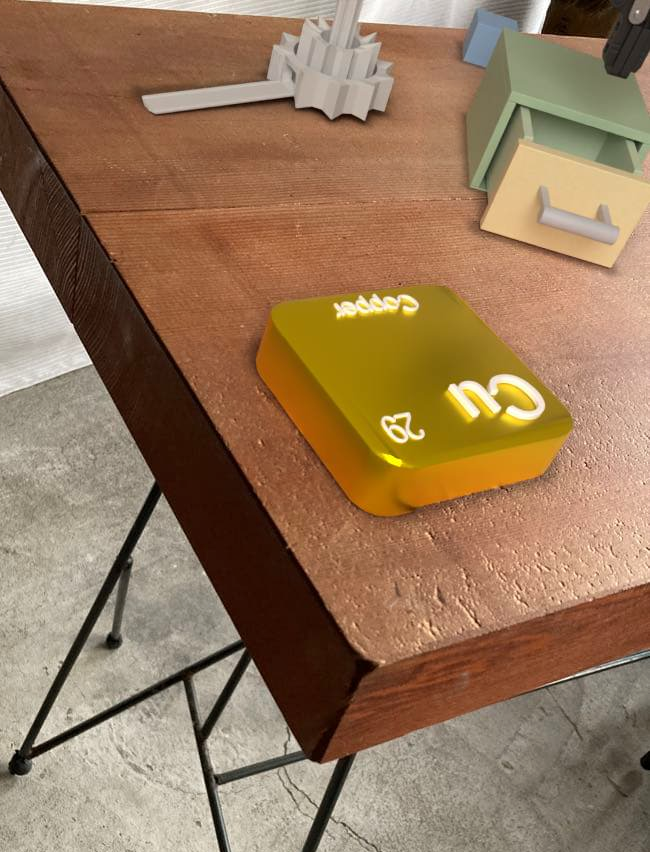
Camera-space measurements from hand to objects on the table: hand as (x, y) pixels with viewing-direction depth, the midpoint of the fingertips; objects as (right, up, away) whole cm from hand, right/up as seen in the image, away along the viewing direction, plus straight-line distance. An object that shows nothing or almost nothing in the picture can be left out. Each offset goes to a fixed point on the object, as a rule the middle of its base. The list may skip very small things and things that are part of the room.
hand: (615, 72), depth 74 cm
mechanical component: (-25, +3, +14) cm, 29 cm away
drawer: (-3, -8, +9) cm, 13 cm away
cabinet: (-2, -2, +17) cm, 17 cm away
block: (-2, +17, +33) cm, 37 cm away
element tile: (-18, -28, -12) cm, 35 cm away
